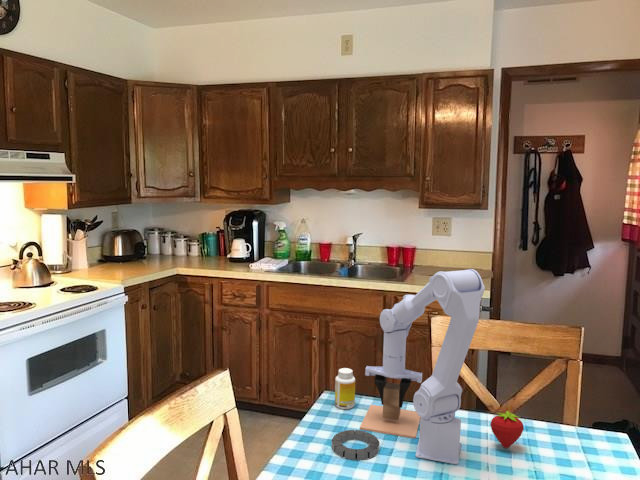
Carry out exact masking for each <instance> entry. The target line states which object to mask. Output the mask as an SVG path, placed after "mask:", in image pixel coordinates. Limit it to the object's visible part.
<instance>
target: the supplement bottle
mask: <svg viewBox="0 0 640 480" xmlns="http://www.w3.org/2000/svg"><path fill="white" fill-rule="evenodd" d="M334 381H335V383H334V384H335V385H334V406H335V407H336V408H337V409H340V410H341V409H342V410H349V409H350V410H351V409H353V408H354V407H355V404H356V399H355V398H356V396H355V395H356V378H355V376H354V374H353V369H351V368H350V367H349V368H348V367H343V368H339V369H338V373H337V375H336V376H335V379H334Z"/></svg>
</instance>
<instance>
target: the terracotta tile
mask: <svg viewBox="0 0 640 480" xmlns="http://www.w3.org/2000/svg"><path fill="white" fill-rule="evenodd" d="M369 405H370V406H369V407H368V410H367V411H366V414H365V415H364V418H363V419H362V422H361V424H360V426H359V430H360V431H366V432H374V433H380V434H386V435H393V436H397V437H404V438H410V439H416V438H417V435H418V429H419V427H420V416H419V415H418V414H417V412H416V410H409V409H404V408H403V409H402V408H401V409H400V416H399V419H398V420H393V419H387V418H383V405H376V404H369Z"/></svg>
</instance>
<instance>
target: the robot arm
mask: <svg viewBox="0 0 640 480" xmlns="http://www.w3.org/2000/svg"><path fill="white" fill-rule="evenodd" d="M485 290H486V286H485V285H484V282H483V279H482V277H481V274H480V273H479V272H478V271H477V270H475V269H472V268H468V269H464V270H463V269H462V270H461V269H460V270H451V271H443V270H440V271H437V272H435V273H434V274H433V275H432V276H430V277H429V280H428V282H427V283H426V284H425V285H424V287H422V288H421V289H420V290H419V291H418V292H417V293H416V294H405V295H403V296H402V299H401V301H399V302H397V303H395V304H394V305H393V307H392V308H391V309H388V308H385V309H383V310H382V311H381V312H380V314H379V315H380V316H379V324H380V327H381V329H382V331H383V346H382V347H383V348H382V349H383V352H382V353H383V355H382V366H371V365H370V366H369V365H366V367H365V372H364V375H365V376H366V377H370V376H374V384H375V386H376V388H377V390H378V394H379V395H380V401H381V406H383V391H384V386H385V384H386V382H387V379H388V378H390V379H395V380H396V379H397V380H400V383H399V384H400V400H399V407H400V408H401V409H402V407H403V405H404V399H405V396H406V393H407V391H408V390H409V388H410V386H411V382H416V383H419V384H420V386H419V389H418V390H417V391H415V393H414V395H413V400H412V403H413V407H414V411H416V412H417V414H418V415H419V416H420V422H419V438H418V439H419V440H418V443H417V447H416V451H415V457H416V458H419V459H424V460H430V461H437V462H442V463H446V464H453V465H459V461H460V459H459V458H460V452H461V451H462V443H461V427H462V419H461V418H457V417H456V412H457V411H459V410H460V409H461V405H462V404H461V403H462V399H461V397H462V393H463V388H462V385H460V383H458V379H459V377H460V373H461V371H462V368H463V365H464V363H465V361H466V360H465V359H466V358H467V354H468V351H469V349H470V346H471V344H472V341H473V338H474V335H475V332H476V329H477V328H478V325H479V320H480V313H481V312H480V311H481V309H480V308H481V300H482V298H483V295H484V293H485ZM435 301H437V303H438V304H439V305H440V308H442V310H443V313H444V315H447V316H448V317H449V318H450V320H449V323H448V326H447V330H446V333H445V336H444V339H443V341H442V344H441V347H440V350H439V354H438V356H437V358H436V362H435V365H434V368H433V370H432V374H431V375H430V377H428V378H427V379H425V381H423V372H417V371H414V370H409V369H406V352H407V351H406V350H407V349H406V348H407V346H406V345H407V337H408V336H409V332H410V329H411V327H412V324H413V322H414V321H416V320H417V319H419V318H420V317H422V316H423V315H424V313H425V312H426V311H425V310H426V307H427V306H429V305H430V304H431V303H434V302H435ZM422 381H423V382H422Z"/></svg>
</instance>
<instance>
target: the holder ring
mask: <svg viewBox="0 0 640 480" xmlns="http://www.w3.org/2000/svg"><path fill="white" fill-rule="evenodd" d="M354 440H355V441H360V442H364V443H366V444H368V446H366V447H365V448H358V449H357V448H350V447H349V448H348V447H347V446H345V445H344V444H343V443H345V442H347V441H354ZM380 444H381V443H380V440H379V439H378V438H377V436H376V435H374V434H372V433H370V432H369V431H367V430H361V429H359V430H358V429H347V430H342V431H340V432H338V433H335V434H334V435H333V437H332V439H331V449H332V450H333V453H335V454H336V455H337V456H338V457H340V458H343V459H345V460H350V461H351V460H352V461H364V460H365V461H366V460H368V459H372V458H374V457H375V456H377V454H379V451H380V447H381V445H380Z"/></svg>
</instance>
